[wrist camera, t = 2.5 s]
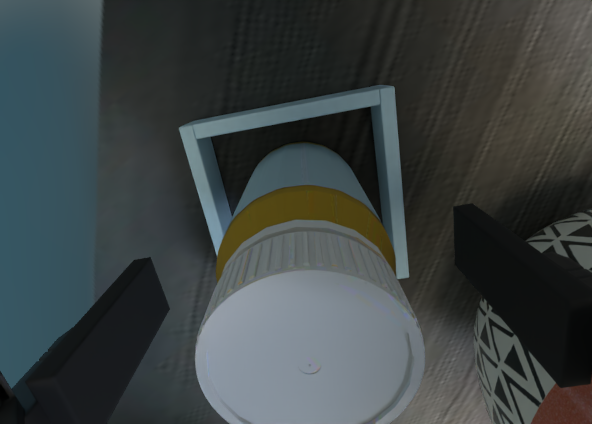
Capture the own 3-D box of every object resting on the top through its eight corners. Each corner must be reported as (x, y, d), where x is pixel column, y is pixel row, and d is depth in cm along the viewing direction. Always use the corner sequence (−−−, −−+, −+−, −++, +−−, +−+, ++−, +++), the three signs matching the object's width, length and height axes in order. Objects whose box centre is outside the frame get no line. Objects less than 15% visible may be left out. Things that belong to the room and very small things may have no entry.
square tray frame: (193, 120, 22) (177, 127, 19) (381, 84, 21) (394, 85, 18) (238, 280, 26) (231, 305, 23) (397, 255, 25) (409, 277, 22)
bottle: (358, 234, 24) (441, 448, 10) (259, 245, 25) (208, 467, 11) (351, 133, 22) (447, 236, 8) (241, 147, 22) (144, 269, 8)
